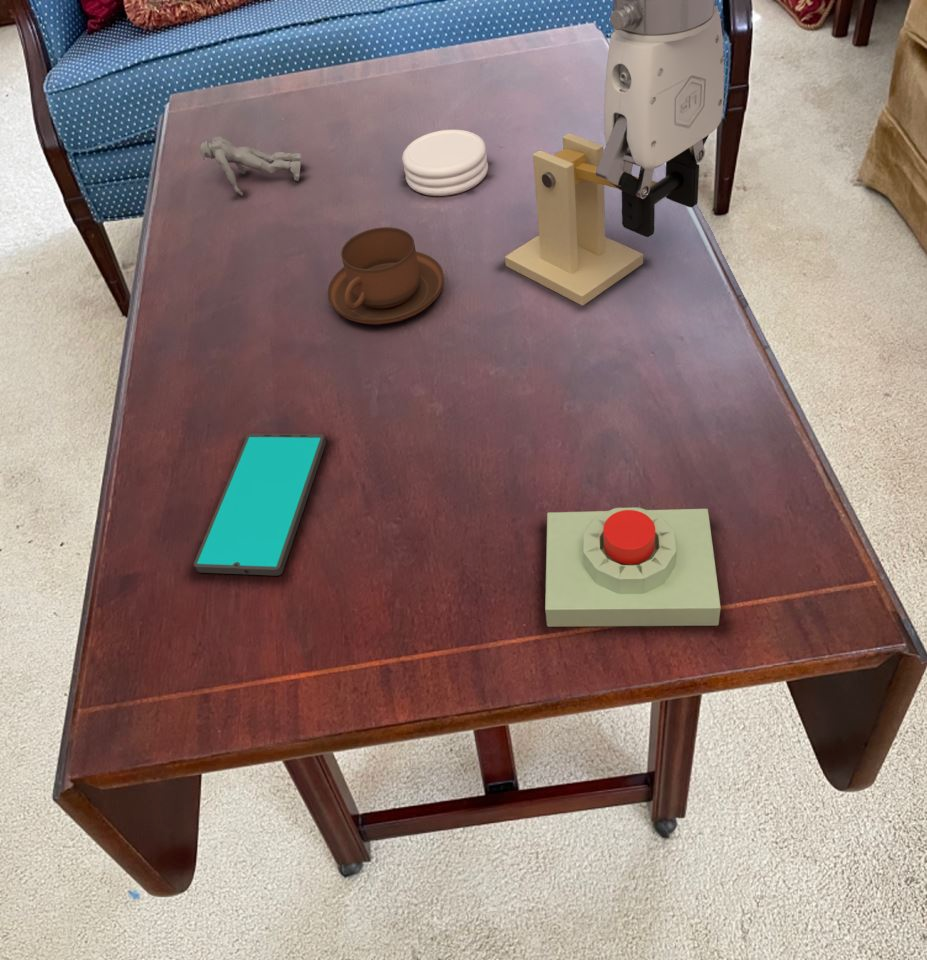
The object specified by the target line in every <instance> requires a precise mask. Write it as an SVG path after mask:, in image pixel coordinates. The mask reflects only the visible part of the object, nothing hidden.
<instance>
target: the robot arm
mask: <svg viewBox="0 0 927 960" xmlns="http://www.w3.org/2000/svg"><path fill="white" fill-rule="evenodd" d="M715 3H716V0H612V12H611V13H610V16H609V22H610V24H611V27H612V28H613V32H612V33H611V34H610V38H609V46H608V51H607V52H608V54H607V61H606V69H605V70H606V71H605V81H604V82H605V83H604V84H605V85H604V105H603V106H604V108H603V112H604V113H603V117H604V118H603V124H604V125H603V127H604V128H603V129H604V142H605V148H604V149H603V155H602V157H601V159H600V162H599V164H598V167H597V169H596V176H597V177H599V178H601V179H603V180H606V181H608V182H610V183H611V184H613V185H614V186H616V188H615V189H616V190H618V191H621V224H622V227H623V228H625V229H626V230H629V231H631V232H633V233H636V234H637V235H641V236H643V237H645V238H650V237H652V236H653V235H654V234H655V219H656V217H655V215H656V214H655V213H656V209H655V206H656V204H655V196H654V194H652V193H650V192H649V191H650V186H651V181H653V176H654V170H655V169H657V168H659V167H661V166H662V165H664V164H665V177H666V176H668V175H669V174H671V173H672V172H679V173H680V174H681V175H682V176H683V179H684V183H683V185H682V186H681V187H680V188H678V189H677V190H675V191H674V192H672V193H671V194H669V195H668V196H666V197H665V198H666V199H667V200H669V201H672V202H674V203H676V204H680V205H683V206H685V207H688V208H691V209H693V208H694V207H695V206H696V205H698V203H699V202H698V201H699V183H700V182H699V180H700V179H699V178H700V164H699V163H701V162H702V161H703V160H704V157H705V153H706V151H705V145H706V142H707V140H708V138H709V136H710V135H711V134H712V133H713V132H715V130H716V129H717V128H718V127H719V126H720V124H721V122H722V119H723V112H724V95H725V94H724V93H725V64H724V63H725V56H724V39H723V30H722V28H723V27H722V21H721V16H720V11H719V10H720V9H719V8H718V6H716V5H715ZM634 165H635V166H638V167H640V168H639V172H638V176H636V177H638V179H637V178H636V177H634V176H635V175H633V174H632V172H633V166H634Z"/></svg>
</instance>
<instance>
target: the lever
mask: <svg viewBox="0 0 927 960" xmlns="http://www.w3.org/2000/svg"><path fill="white" fill-rule="evenodd" d="M552 155H553V156H556V157H558V158H561V159H563V160H566V161H568V162H571V163H573V164H574V180H575V185H577V184H578V183H580V182H581V181H583V180H587V181H591V182H594V183H598V184H602V185H604V186H605V187H610V188H613V189H617V188H616V186H614V185H613V184H611V183H610V182H608V181H606V180H603V179H601V178H599V177H597V176H596V169H597V166H593V165H589V164H587V160H586V154H585V153H581V152H577V151H573V150H569V149H563V148H562V149H561V150H560V151H558V152H556V153H555V154H552ZM633 176H634V177H636V178H637V179H638V177H639V176H636V175H633ZM683 183H684V179H683V176H682V175H681V174H680V173H679V172H672V173H671V174H669V175H668V176H666V175H665V176H664V177H662V179H660V180H659V181H655V180H652V181H651V186H650V191H649V192H650V193H652V194H654V196H655V205H656V204H657V203H658V202H661V201H662V200H663V199H665V198H666V196H668V195H669V194H671V193H672V192H674V191H675V190H677V189H678V188H680V187H681V186H682V185H683Z"/></svg>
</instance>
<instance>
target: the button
mask: <svg viewBox="0 0 927 960" xmlns="http://www.w3.org/2000/svg"><path fill="white" fill-rule="evenodd" d="M603 538H604V549H605V551H606V553H607V555H608V556H609V557H610V558H611V559H613V560H614V561H616V562H619V563H622V564H637V563H641V562H643V561H645V560H646V559H648V558H649V557H650V556H651V555H652V553H653V551H654V548H655V525H654V523H653V521H652V520H651V519H650V518H649V517H648V516H647V515H646V514H644V513H642V512H639V511H635V510H623V511H619V512H616V513H614V514H613V515H611V516H610V517H609V518H608V519H607V520H606V522H605V524H604V527H603Z"/></svg>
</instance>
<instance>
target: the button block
mask: <svg viewBox="0 0 927 960" xmlns="http://www.w3.org/2000/svg"><path fill="white" fill-rule="evenodd" d="M623 510H635V511H639V512H642V513H644V514H646V515H647V516H648V517H649V518H650V519H651V520H652V521H653V523H654V525H655V548H654V551H653V553H652V555H651V556H650V557H649V558H648V559H646V560H645V561H643V562H641V563H637V564H622V563H619V562H616V561H614V560H613V559H611V558H610V557H609V556H608V555H607V553H606V551H605V549H604V538H603V527H604V524H605V522H606V520H607V519H608V518H609V517H610V516H611V515H613V514H614V513H616V512H619V511H623ZM546 516H547V517H546V553H545V554H546V555H545V556H546V557H545V563H546V564H545V597H544V598H545V599H544V601H545V602H544V610H545V621H546V626H547V627H549V628H552V627H554V628H556V627H557V628H559V627H560V628H561V627H562V628H563V627H566V628H568V627H569V628H570V627H694V626H695V627H703V626H705V627H710V626H715V627H716V626H719V625H720V617H721V598H720V592H719V591H720V590H719V584H718V577H717V576H718V575H717V569H716V568H717V567H716V561H715V553H714V544H713V537H712V529H711V522H710V515H709V509H708V508H680V509H679V508H678V509H677V508H676V509H645V508H642V507H638V506H636V507H634V506H633V507H614V508H612V509H610V510H598V511H597V510H595V511H593V510H592V511H557V512H555V511H553V512H550V511H549V512H547V513H546Z"/></svg>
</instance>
